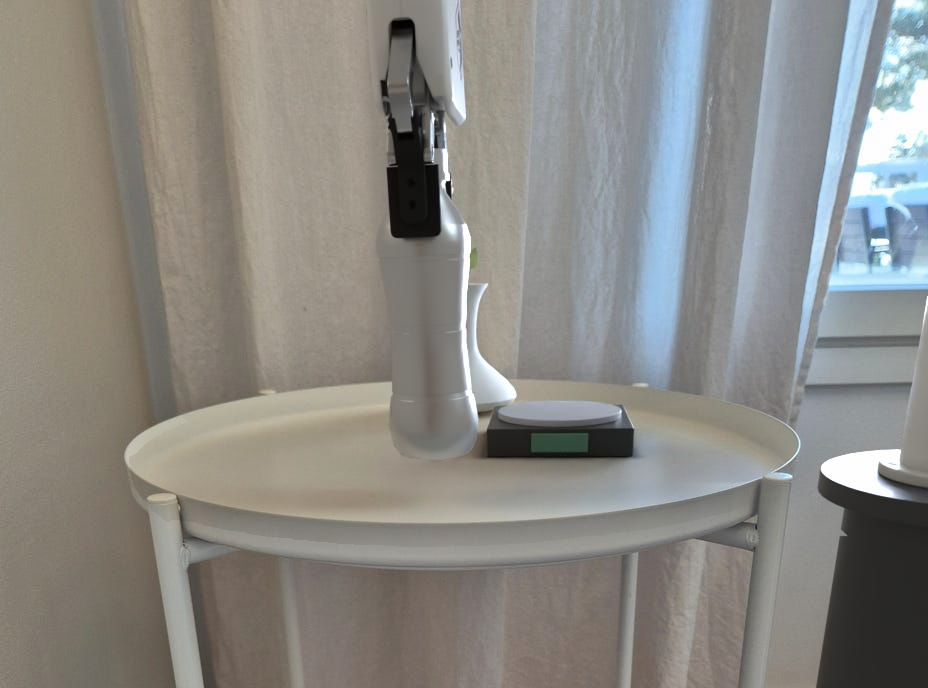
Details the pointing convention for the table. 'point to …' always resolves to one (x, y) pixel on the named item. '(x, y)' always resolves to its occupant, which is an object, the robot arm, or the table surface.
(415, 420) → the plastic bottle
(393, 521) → the table surface
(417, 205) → the robot arm
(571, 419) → the scale
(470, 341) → the flower in vase
